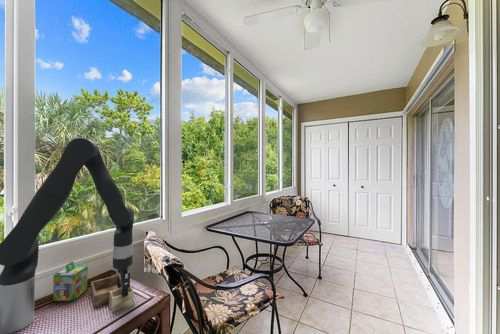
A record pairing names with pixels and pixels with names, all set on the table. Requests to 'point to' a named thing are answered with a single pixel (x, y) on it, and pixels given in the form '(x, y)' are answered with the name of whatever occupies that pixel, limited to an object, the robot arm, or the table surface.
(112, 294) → the pine crate
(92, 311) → the table surface
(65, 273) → the chalk box
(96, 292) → the walnut crate
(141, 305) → the table surface
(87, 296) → the table surface
